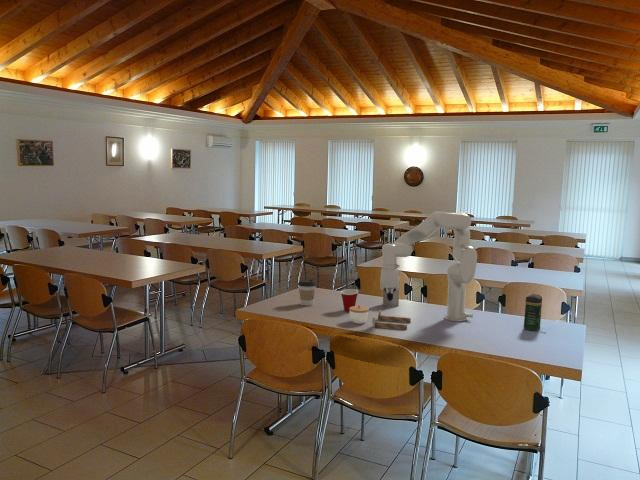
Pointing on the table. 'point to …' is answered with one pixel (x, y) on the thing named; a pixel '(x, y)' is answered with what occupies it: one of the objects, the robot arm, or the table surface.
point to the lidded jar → (359, 314)
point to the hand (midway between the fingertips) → (390, 300)
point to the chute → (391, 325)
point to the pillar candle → (394, 301)
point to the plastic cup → (349, 298)
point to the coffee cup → (307, 291)
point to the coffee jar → (533, 312)
